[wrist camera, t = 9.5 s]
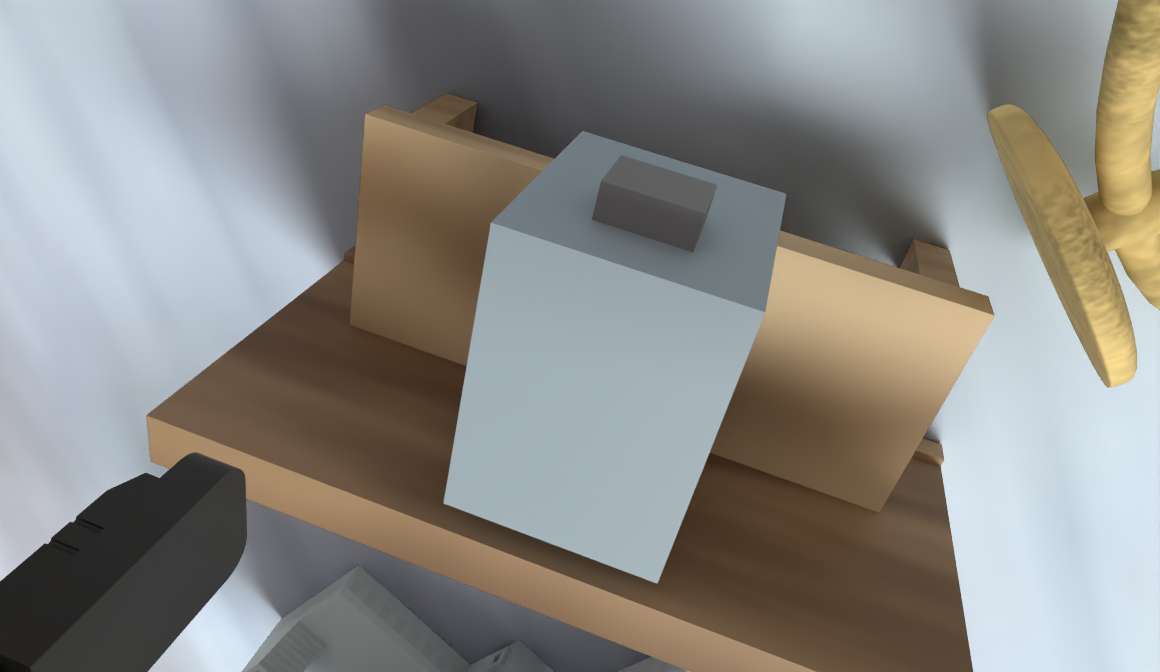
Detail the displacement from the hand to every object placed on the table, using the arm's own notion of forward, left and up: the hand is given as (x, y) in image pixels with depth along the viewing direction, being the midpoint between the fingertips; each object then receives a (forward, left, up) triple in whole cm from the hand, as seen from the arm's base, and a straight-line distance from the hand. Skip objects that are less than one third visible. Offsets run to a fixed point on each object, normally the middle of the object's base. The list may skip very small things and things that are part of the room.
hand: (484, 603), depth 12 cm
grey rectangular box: (0, 0, -11) cm, 11 cm away
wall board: (+4, 0, -15) cm, 15 cm away
